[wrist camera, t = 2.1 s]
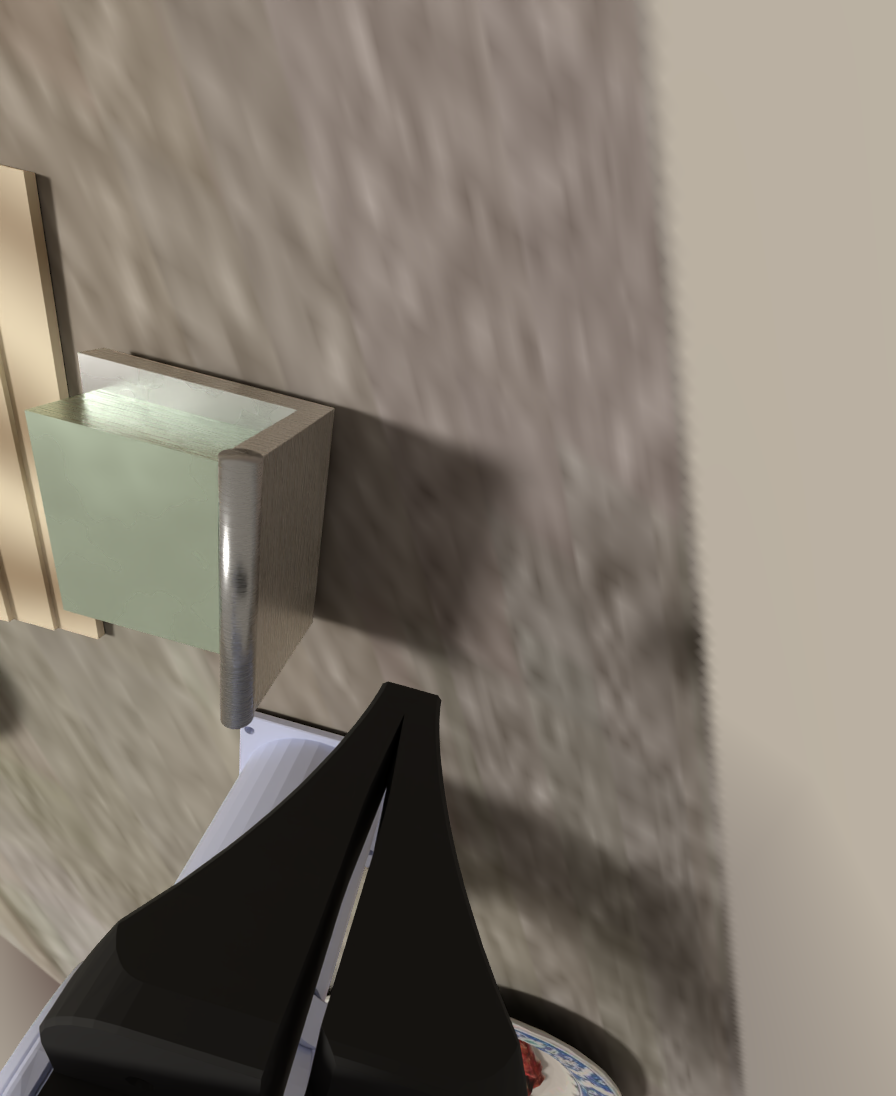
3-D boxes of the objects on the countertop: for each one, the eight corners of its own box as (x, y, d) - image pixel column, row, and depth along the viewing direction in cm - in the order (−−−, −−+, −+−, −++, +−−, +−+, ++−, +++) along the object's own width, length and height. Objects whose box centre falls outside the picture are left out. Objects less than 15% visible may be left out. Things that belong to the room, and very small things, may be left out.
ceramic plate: (228, 963, 40) (207, 1012, 37) (557, 951, 32) (558, 1012, 29) (379, 1108, 50) (370, 1155, 47) (659, 1127, 41) (667, 1185, 39)
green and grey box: (316, 620, 22) (244, 732, 16) (131, 568, 22) (3, 663, 17) (339, 407, 17) (250, 469, 12) (107, 346, 17) (-78, 381, 12)
